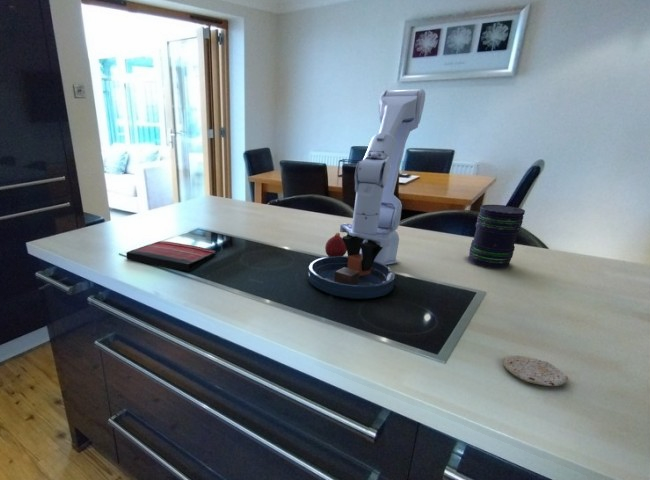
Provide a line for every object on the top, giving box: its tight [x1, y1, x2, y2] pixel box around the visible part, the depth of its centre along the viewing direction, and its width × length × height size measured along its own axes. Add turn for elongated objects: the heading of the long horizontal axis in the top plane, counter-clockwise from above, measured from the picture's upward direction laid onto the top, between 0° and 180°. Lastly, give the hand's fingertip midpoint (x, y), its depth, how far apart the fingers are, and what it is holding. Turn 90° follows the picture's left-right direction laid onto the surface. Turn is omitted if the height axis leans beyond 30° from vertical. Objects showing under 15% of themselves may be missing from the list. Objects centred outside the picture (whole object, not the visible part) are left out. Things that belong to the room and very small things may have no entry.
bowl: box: [307, 255, 396, 300], centre depth 93 cm, size 19×19×4 cm
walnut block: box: [334, 267, 360, 285], centre depth 89 cm, size 4×4×4 cm
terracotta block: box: [347, 254, 372, 276], centre depth 95 cm, size 4×4×4 cm
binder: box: [125, 240, 217, 273], centre depth 111 cm, size 16×2×21 cm
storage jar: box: [467, 204, 526, 270], centre depth 104 cm, size 10×10×15 cm
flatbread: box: [502, 355, 569, 387], centre depth 61 cm, size 8×8×1 cm
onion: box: [324, 232, 347, 257], centre depth 107 cm, size 6×6×8 cm
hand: (359, 266), depth 95 cm, fingers closed on terracotta block, 4 cm apart
